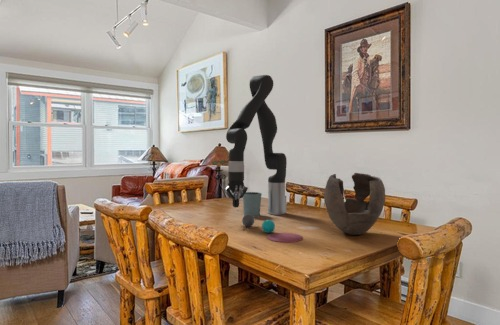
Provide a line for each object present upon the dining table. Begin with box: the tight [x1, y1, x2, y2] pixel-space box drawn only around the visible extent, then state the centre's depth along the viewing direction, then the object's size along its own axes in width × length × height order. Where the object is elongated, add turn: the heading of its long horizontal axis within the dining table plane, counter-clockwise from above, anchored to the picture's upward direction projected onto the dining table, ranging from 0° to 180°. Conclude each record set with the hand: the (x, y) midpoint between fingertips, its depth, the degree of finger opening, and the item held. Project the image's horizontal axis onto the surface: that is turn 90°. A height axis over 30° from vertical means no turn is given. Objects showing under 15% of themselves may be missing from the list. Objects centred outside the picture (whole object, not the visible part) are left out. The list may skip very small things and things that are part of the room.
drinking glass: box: [242, 191, 263, 218], centre depth 180 cm, size 10×10×12 cm
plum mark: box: [267, 232, 303, 243], centre depth 135 cm, size 14×14×1 cm
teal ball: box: [261, 219, 276, 234], centre depth 143 cm, size 6×6×6 cm
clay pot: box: [323, 172, 386, 236], centre depth 139 cm, size 24×24×25 cm
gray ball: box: [241, 215, 255, 228], centre depth 154 cm, size 6×6×6 cm
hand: (235, 207), depth 161 cm, fingers closed
